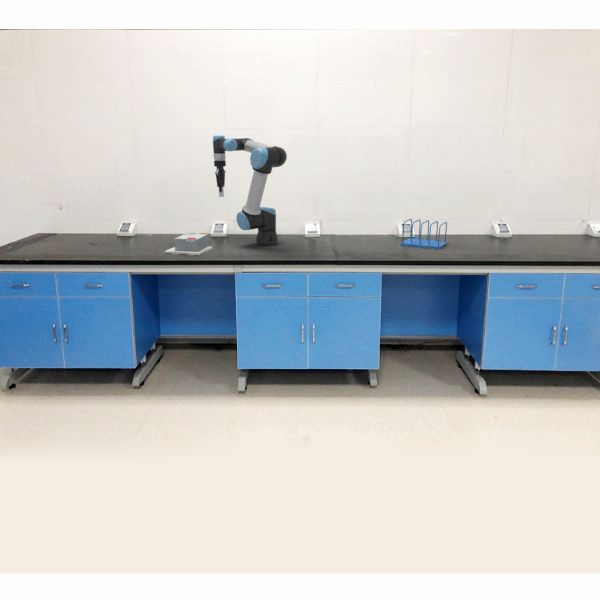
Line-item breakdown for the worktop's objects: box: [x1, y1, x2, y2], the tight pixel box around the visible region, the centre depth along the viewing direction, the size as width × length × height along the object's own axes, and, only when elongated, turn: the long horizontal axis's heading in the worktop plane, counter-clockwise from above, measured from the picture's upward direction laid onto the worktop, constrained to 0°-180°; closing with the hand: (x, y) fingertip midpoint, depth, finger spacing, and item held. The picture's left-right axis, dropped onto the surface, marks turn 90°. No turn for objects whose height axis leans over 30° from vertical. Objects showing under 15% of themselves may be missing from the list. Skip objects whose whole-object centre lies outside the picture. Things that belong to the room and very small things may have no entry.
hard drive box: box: [173, 232, 212, 251], centre depth 359 cm, size 16×8×20 cm
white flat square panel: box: [164, 245, 213, 256], centre depth 358 cm, size 22×20×2 cm
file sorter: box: [400, 218, 448, 250], centre depth 372 cm, size 25×17×15 cm
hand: (221, 196), depth 386 cm, fingers closed
